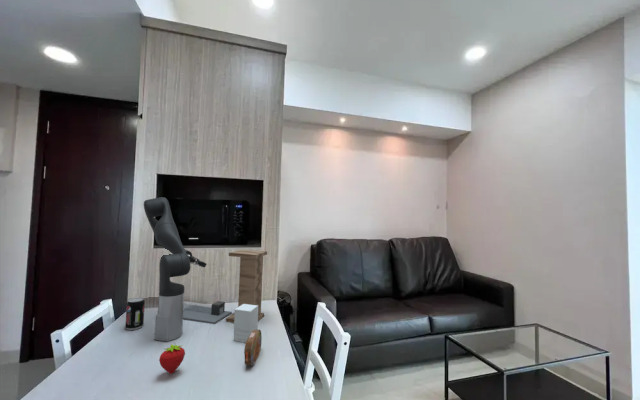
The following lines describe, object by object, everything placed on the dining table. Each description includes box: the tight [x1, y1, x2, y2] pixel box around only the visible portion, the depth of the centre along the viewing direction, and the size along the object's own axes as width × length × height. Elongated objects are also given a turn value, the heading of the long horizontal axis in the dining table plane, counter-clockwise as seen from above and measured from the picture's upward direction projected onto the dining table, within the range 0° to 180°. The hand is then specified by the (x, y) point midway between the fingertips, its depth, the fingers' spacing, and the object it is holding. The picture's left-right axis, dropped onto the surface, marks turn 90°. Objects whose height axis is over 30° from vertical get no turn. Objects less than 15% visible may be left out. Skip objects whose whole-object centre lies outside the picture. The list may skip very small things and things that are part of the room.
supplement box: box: [233, 304, 259, 343], centre depth 114 cm, size 7×7×13 cm
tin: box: [243, 329, 263, 366], centre depth 99 cm, size 15×3×8 cm, turn 179°
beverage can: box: [124, 297, 146, 331], centre depth 120 cm, size 7×7×12 cm
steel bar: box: [183, 300, 226, 316], centre depth 140 cm, size 5×23×5 cm, turn 74°
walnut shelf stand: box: [225, 249, 268, 324], centre depth 134 cm, size 12×14×32 cm
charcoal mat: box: [183, 309, 233, 325], centre depth 136 cm, size 14×24×1 cm, turn 76°
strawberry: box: [158, 340, 186, 375], centre depth 88 cm, size 6×8×10 cm
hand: (199, 263), depth 142 cm, fingers open, 8 cm apart
